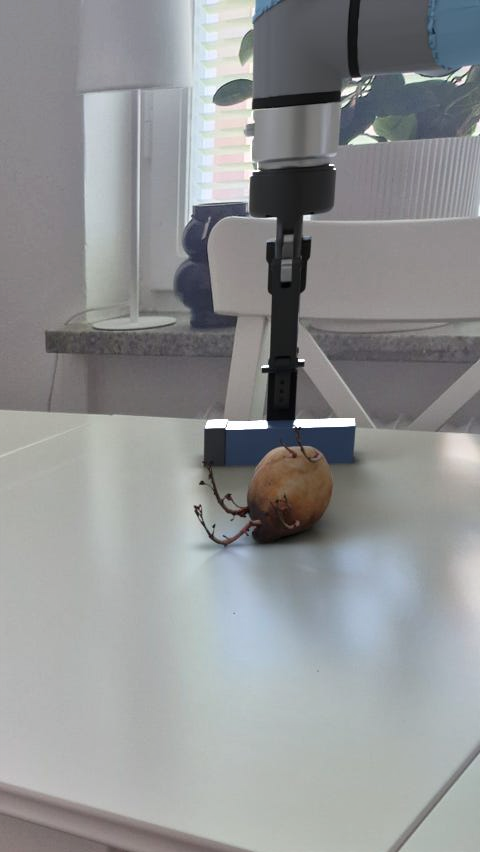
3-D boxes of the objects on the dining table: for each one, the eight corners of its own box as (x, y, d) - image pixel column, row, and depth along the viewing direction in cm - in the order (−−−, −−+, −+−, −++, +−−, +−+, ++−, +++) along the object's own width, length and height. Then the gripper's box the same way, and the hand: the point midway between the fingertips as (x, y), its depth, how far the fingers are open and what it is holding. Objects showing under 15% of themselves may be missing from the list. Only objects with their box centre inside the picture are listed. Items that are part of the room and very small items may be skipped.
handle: (352, 456, 113) (355, 415, 111) (352, 465, 110) (355, 423, 108) (207, 459, 117) (208, 420, 115) (203, 468, 114) (204, 428, 112)
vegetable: (181, 465, 102) (239, 356, 96) (290, 521, 103) (354, 416, 98) (172, 525, 89) (238, 404, 84) (297, 588, 90) (371, 472, 85)
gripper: (253, 166, 109) (244, 428, 121) (245, 170, 98) (236, 457, 110) (336, 159, 107) (319, 426, 119) (337, 162, 96) (318, 455, 108)
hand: (279, 441), depth 115 cm, fingers closed
